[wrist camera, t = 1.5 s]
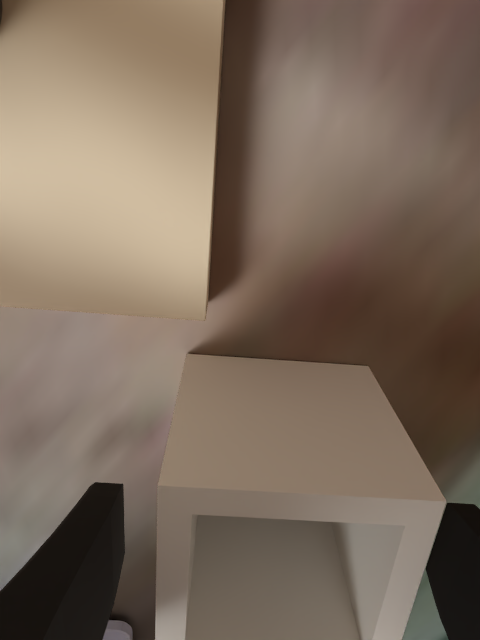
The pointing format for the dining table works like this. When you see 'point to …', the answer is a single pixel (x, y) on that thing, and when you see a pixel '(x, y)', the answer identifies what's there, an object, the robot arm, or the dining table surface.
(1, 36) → the roll holder
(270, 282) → the dining table surface
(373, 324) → the dining table surface
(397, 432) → the hollow square tube
